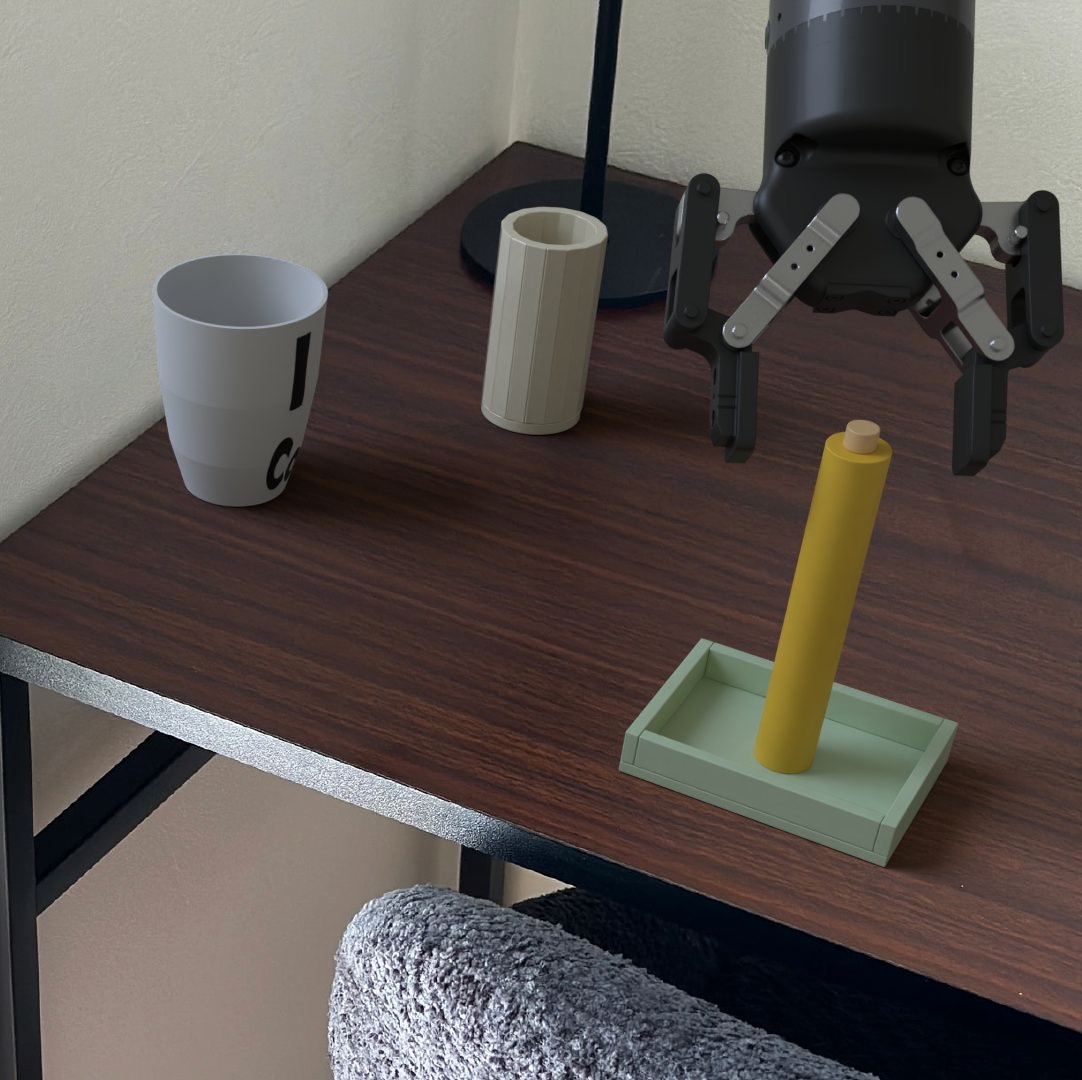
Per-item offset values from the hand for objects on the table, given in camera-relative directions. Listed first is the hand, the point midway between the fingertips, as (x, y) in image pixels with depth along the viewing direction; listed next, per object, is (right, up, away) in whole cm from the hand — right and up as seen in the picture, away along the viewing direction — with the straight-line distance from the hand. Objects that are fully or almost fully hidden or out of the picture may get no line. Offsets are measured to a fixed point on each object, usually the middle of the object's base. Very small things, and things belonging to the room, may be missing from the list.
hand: (855, 464), depth 77 cm
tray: (0, -11, +8) cm, 14 cm away
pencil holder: (-7, +9, +32) cm, 34 cm away
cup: (-23, +4, +25) cm, 34 cm away
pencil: (-1, -11, +8) cm, 13 cm away
